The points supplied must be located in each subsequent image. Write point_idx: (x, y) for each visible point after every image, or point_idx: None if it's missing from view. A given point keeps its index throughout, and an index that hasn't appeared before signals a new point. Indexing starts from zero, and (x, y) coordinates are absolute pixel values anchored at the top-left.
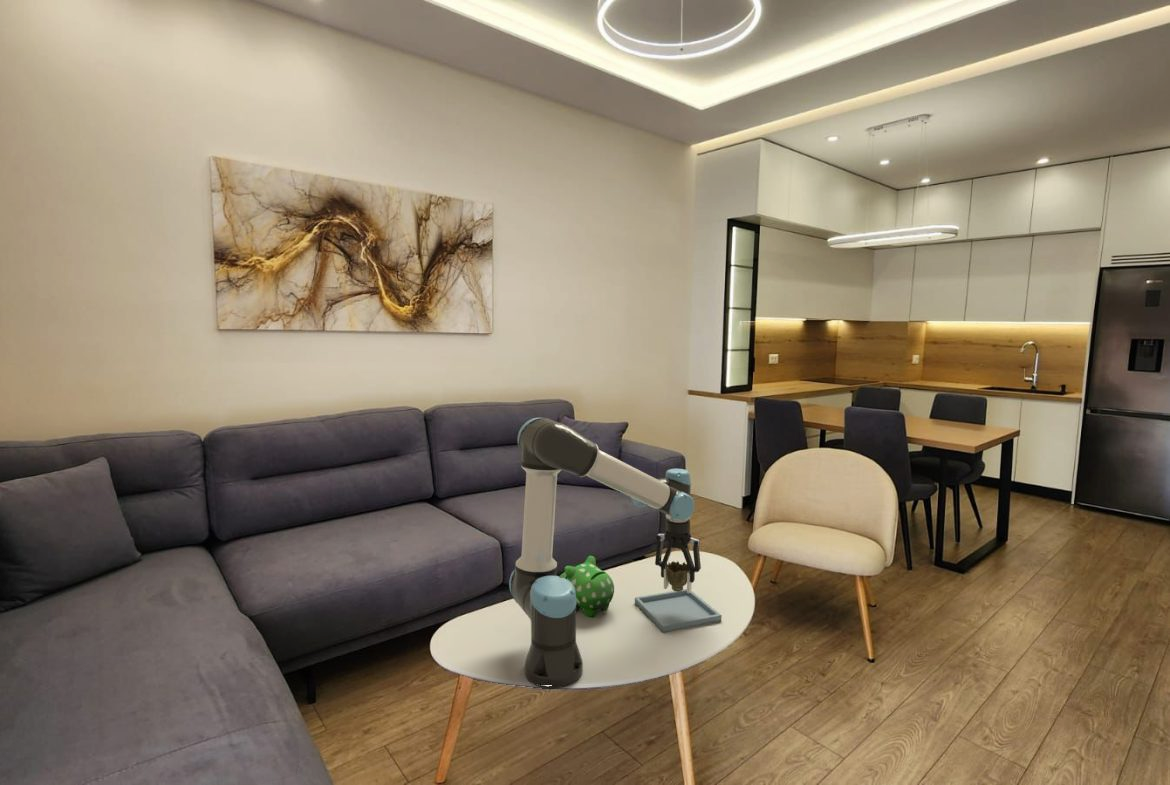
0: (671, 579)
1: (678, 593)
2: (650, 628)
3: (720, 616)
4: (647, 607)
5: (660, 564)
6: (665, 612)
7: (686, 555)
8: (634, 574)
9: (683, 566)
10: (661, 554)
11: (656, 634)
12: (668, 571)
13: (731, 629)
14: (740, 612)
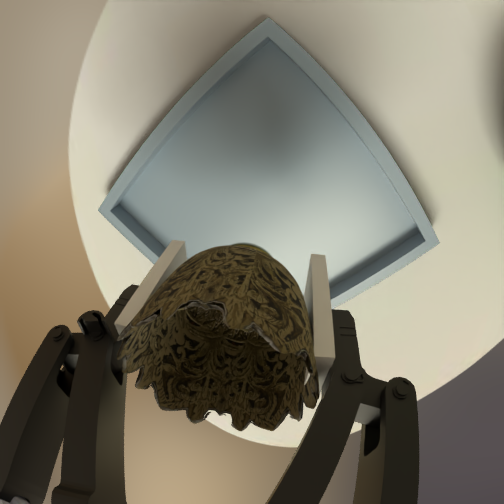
0: (255, 266)
1: None
2: (333, 39)
3: (101, 205)
4: (386, 168)
5: (367, 392)
6: (304, 181)
7: (74, 456)
8: (415, 378)
9: (202, 398)
10: (360, 473)
11: (293, 4)
12: (279, 322)
13: (75, 166)
14: (98, 269)
